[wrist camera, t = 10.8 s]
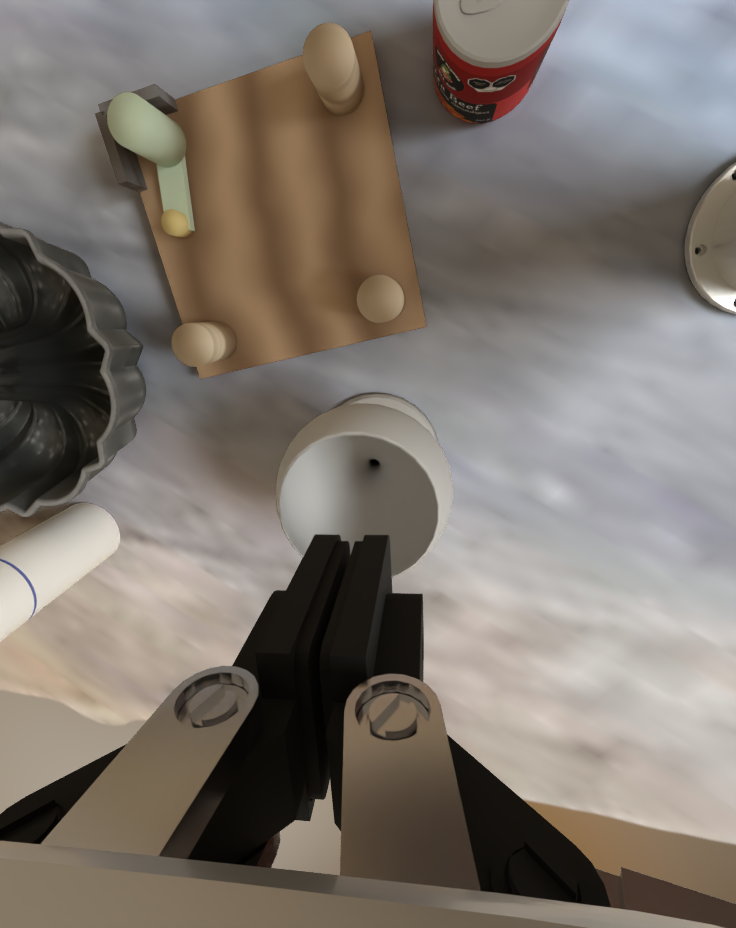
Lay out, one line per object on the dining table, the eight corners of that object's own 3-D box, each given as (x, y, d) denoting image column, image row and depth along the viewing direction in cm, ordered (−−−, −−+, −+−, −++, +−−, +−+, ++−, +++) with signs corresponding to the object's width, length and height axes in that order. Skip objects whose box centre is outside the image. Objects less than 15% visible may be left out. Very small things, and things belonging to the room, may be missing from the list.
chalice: (407, 356, 45) (396, 379, 31) (472, 481, 48) (489, 553, 34) (285, 423, 49) (226, 471, 35) (353, 535, 52) (323, 622, 38)
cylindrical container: (129, 525, 55) (-96, 690, 32) (106, 569, 57) (-121, 753, 34) (75, 490, 55) (-196, 632, 31) (53, 536, 57) (-214, 699, 33)
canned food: (413, 68, 38) (406, -20, 28) (497, -19, 36) (524, -150, 26) (471, 151, 40) (485, 96, 29) (556, 72, 37) (604, -18, 27)
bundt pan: (-112, 315, 51) (-235, 318, 41) (58, 158, 44) (-43, 118, 34) (51, 518, 56) (-25, 561, 47) (226, 406, 49) (177, 430, 40)
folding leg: (202, 236, 42) (168, 226, 37) (165, 239, 43) (126, 229, 37) (187, 119, 39) (148, 89, 34) (147, 123, 40) (102, 94, 34)
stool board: (373, 44, 38) (360, -15, 31) (426, 325, 44) (425, 330, 37) (130, 128, 42) (69, 93, 35) (209, 376, 48) (171, 388, 41)
